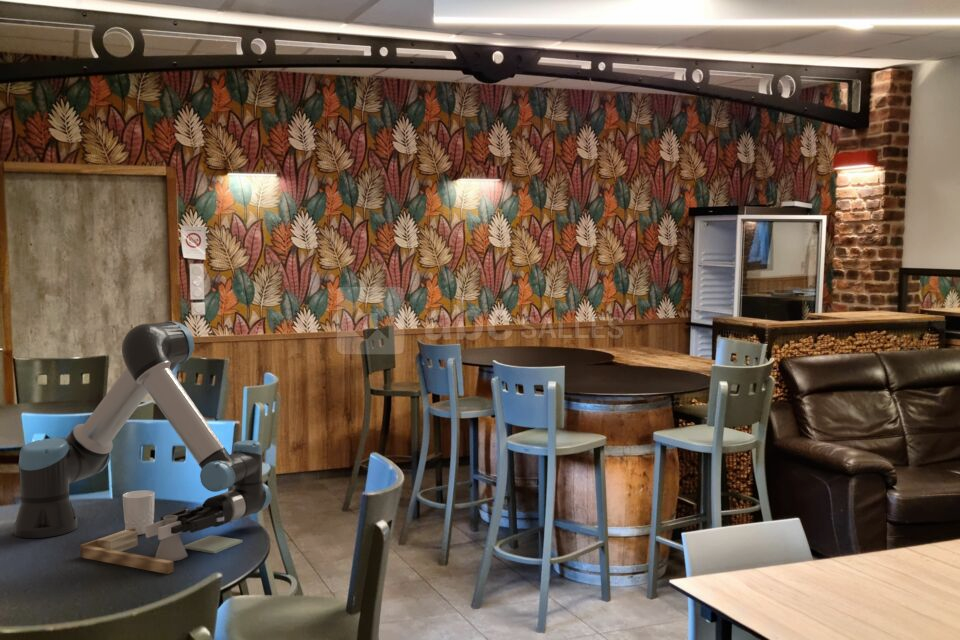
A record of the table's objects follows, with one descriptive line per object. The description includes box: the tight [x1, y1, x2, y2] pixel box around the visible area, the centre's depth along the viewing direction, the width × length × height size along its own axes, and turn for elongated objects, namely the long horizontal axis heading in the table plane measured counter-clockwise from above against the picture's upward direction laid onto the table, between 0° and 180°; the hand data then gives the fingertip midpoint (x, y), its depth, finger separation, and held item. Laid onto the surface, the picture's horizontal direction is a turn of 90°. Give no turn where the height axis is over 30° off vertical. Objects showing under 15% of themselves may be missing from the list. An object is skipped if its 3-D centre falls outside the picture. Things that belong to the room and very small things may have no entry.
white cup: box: [121, 489, 156, 536], centre depth 240 cm, size 8×8×10 cm
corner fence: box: [79, 528, 174, 575], centre depth 219 cm, size 28×16×3 cm, turn 64°
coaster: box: [183, 534, 243, 554], centre depth 228 cm, size 10×10×1 cm
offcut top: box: [97, 529, 139, 550], centre depth 224 cm, size 4×9×2 cm, turn 158°
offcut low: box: [111, 539, 139, 552], centre depth 224 cm, size 4×9×2 cm, turn 155°
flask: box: [154, 515, 188, 562], centre depth 217 cm, size 7×7×10 cm
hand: (153, 532), depth 212 cm, fingers closed on flask, 3 cm apart
